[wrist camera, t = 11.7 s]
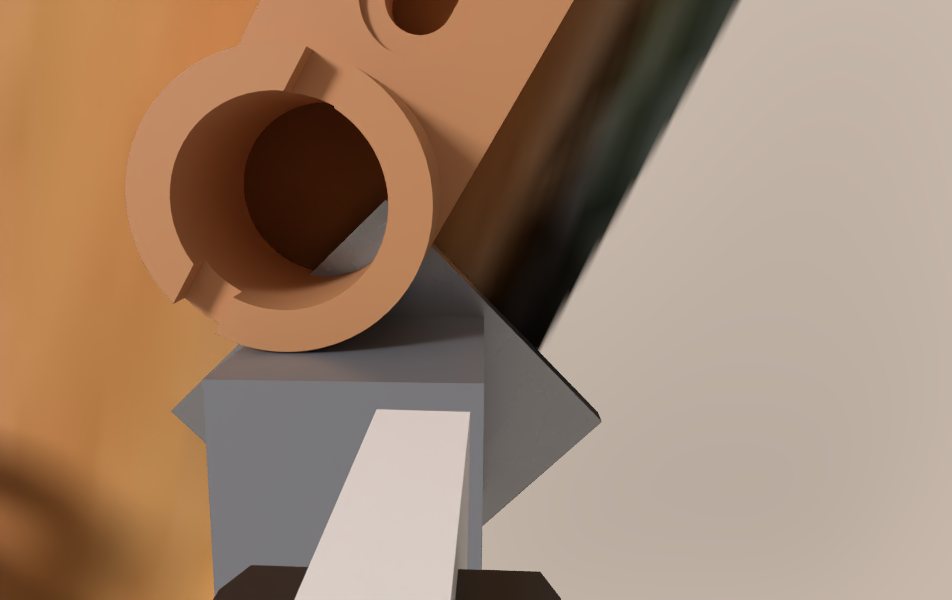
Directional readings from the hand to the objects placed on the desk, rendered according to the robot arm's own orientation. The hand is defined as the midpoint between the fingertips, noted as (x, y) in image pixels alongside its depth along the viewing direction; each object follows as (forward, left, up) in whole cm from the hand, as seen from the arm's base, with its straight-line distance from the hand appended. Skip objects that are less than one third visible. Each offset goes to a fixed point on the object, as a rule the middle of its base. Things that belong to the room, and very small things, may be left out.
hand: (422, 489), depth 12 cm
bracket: (-4, -7, -16) cm, 18 cm away
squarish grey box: (+5, +1, -15) cm, 15 cm away
